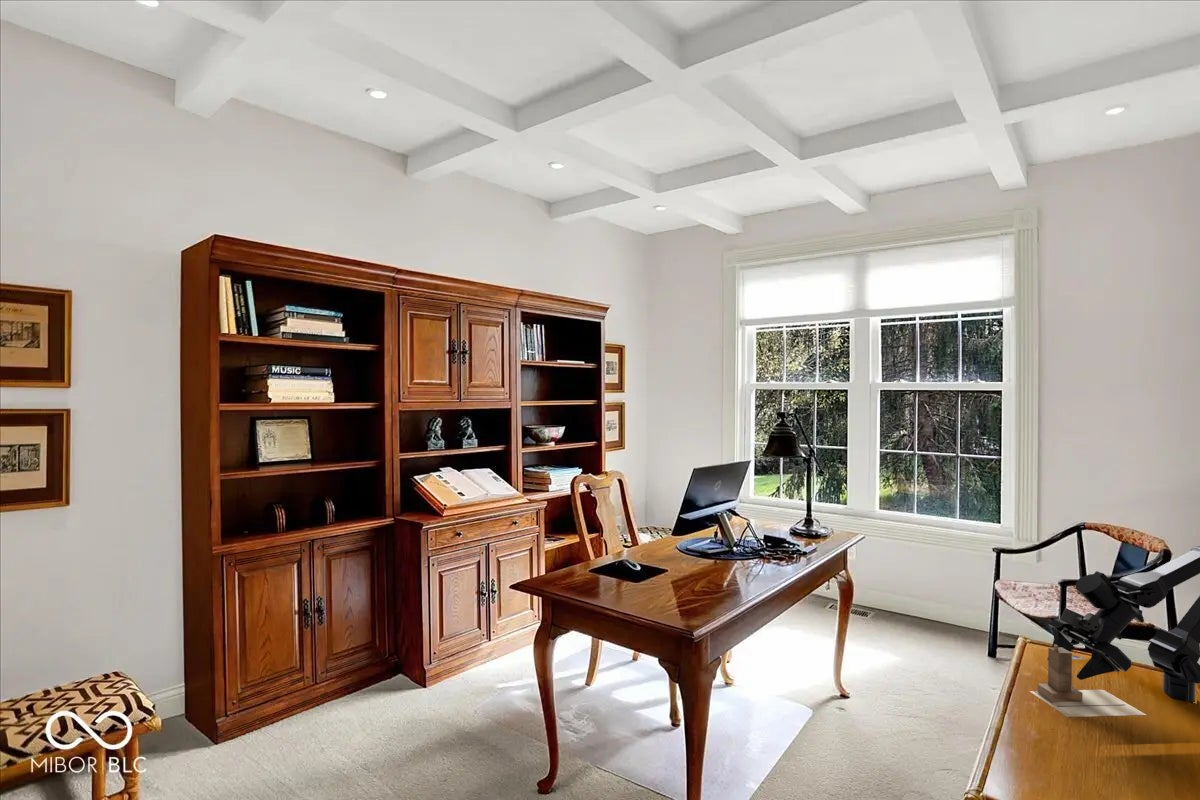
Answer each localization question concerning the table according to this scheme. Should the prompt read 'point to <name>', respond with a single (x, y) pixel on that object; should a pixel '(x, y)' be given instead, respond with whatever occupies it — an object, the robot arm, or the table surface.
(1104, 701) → the birch board
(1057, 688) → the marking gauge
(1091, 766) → the table surface
